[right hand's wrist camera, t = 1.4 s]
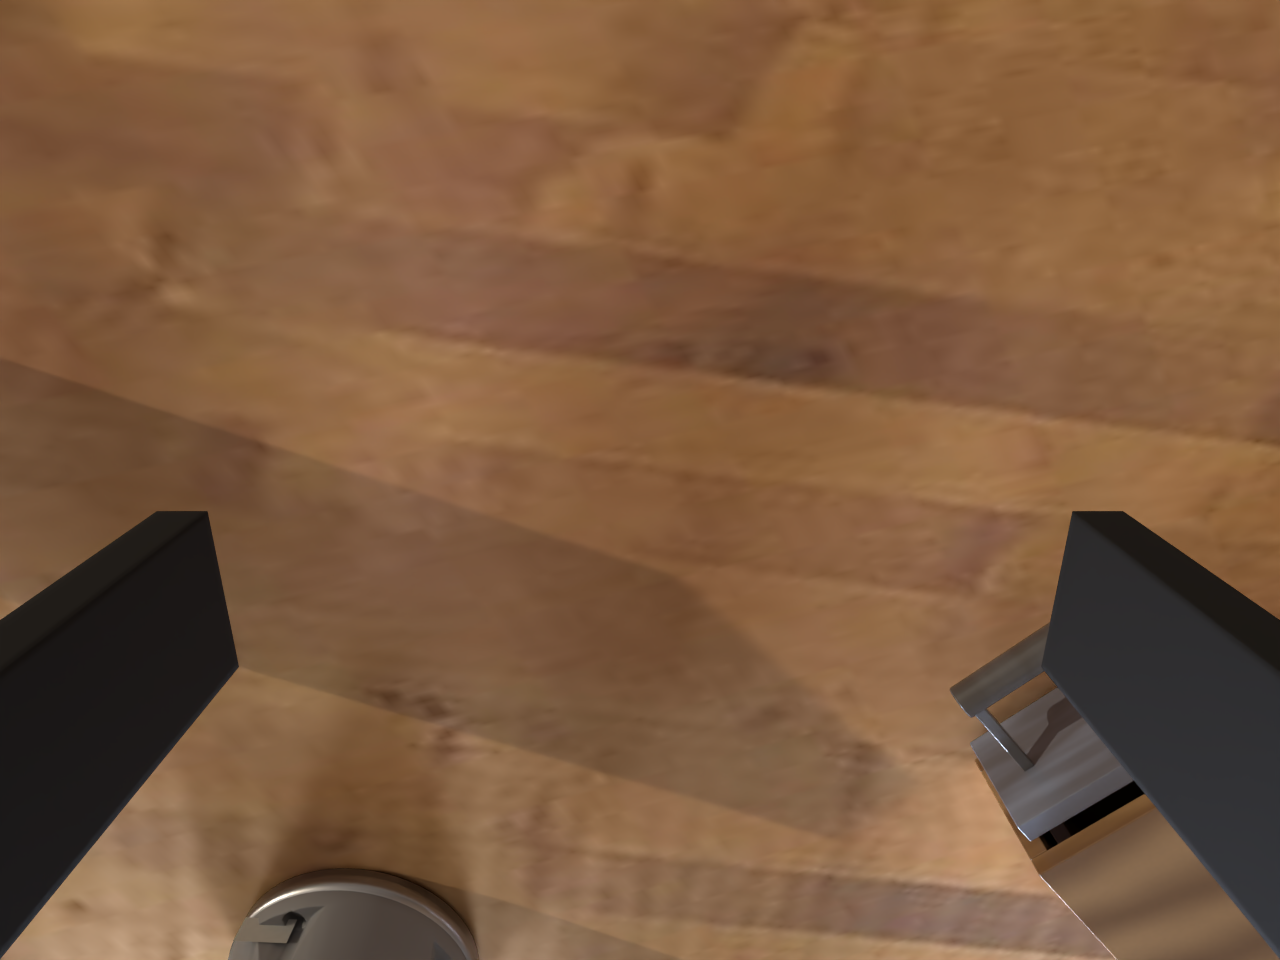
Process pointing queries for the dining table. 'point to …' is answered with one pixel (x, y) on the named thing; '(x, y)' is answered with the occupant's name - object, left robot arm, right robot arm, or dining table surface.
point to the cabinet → (1142, 888)
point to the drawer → (1042, 750)
